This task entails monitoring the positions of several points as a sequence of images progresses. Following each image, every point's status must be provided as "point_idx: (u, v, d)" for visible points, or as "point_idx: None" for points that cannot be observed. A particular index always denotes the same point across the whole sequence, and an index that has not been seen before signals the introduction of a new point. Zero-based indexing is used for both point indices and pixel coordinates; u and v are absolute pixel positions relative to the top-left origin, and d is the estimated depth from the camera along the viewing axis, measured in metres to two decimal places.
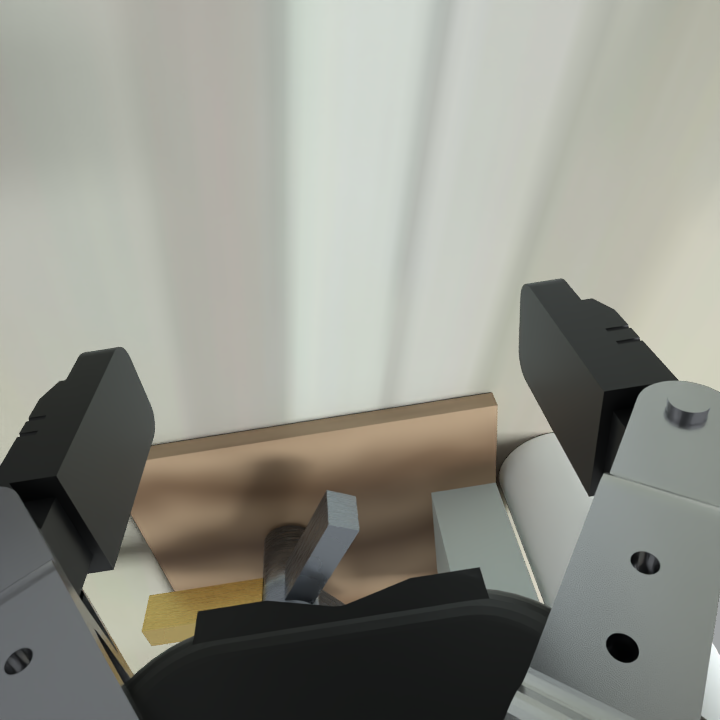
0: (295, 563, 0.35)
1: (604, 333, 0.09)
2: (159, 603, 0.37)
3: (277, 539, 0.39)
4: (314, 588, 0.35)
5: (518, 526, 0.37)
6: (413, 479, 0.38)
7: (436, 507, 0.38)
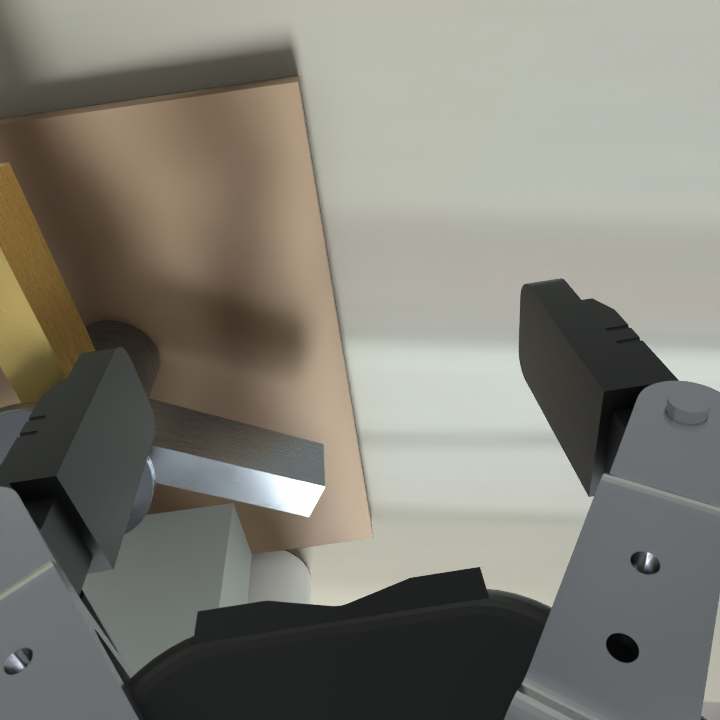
0: (190, 430, 0.22)
1: (604, 333, 0.09)
2: (11, 195, 0.17)
3: (147, 353, 0.24)
4: (163, 474, 0.21)
5: None
6: None
7: (231, 523, 0.30)
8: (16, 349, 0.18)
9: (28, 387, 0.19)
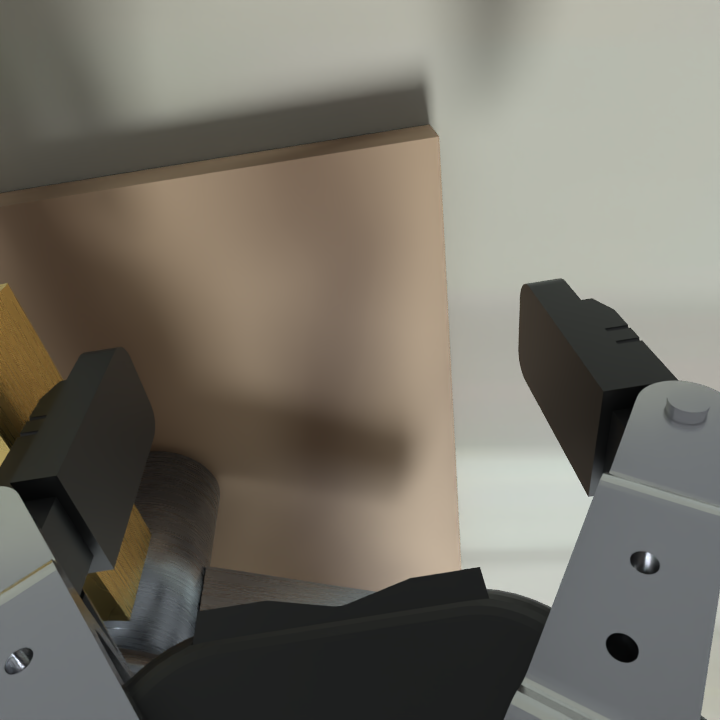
0: None
1: (603, 333, 0.09)
2: (14, 337, 0.11)
3: (205, 494, 0.17)
4: None
5: None
6: None
7: None
8: None
9: None
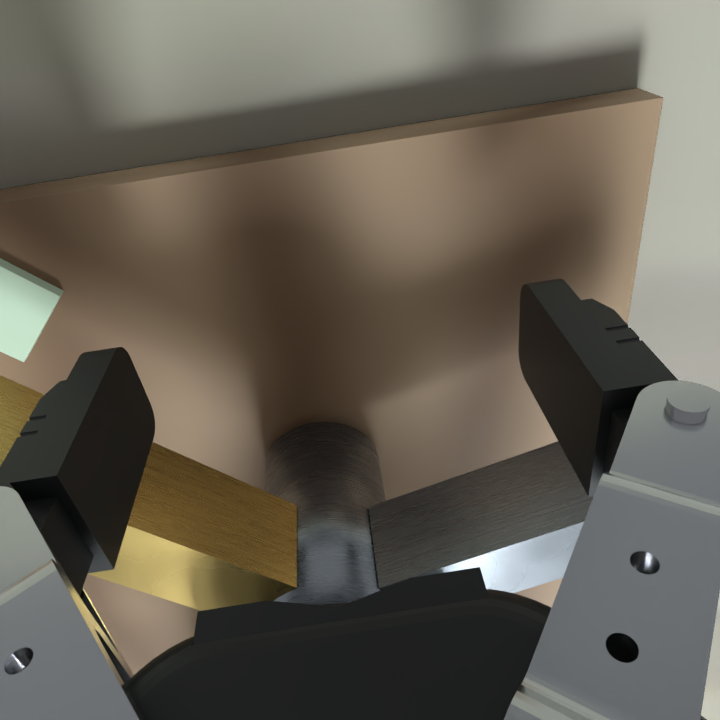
0: (450, 518, 0.14)
1: (604, 333, 0.09)
2: (23, 411, 0.12)
3: (343, 445, 0.17)
4: None
5: None
6: None
7: None
8: (171, 577, 0.12)
9: (224, 603, 0.13)
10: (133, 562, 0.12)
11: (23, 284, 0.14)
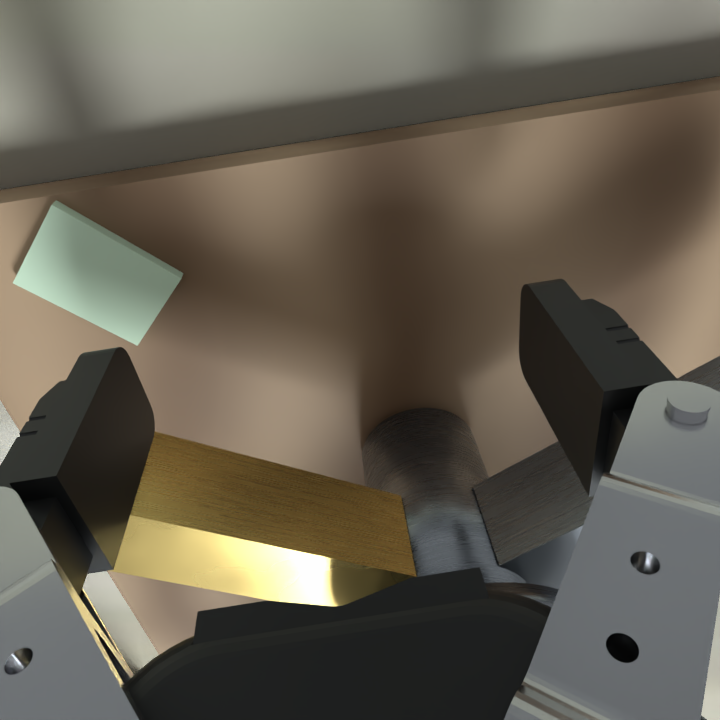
0: (560, 484, 0.13)
1: (604, 333, 0.09)
2: None
3: (435, 429, 0.17)
4: None
5: None
6: None
7: None
8: (294, 583, 0.13)
9: (349, 601, 0.13)
10: (256, 574, 0.12)
11: (146, 266, 0.14)
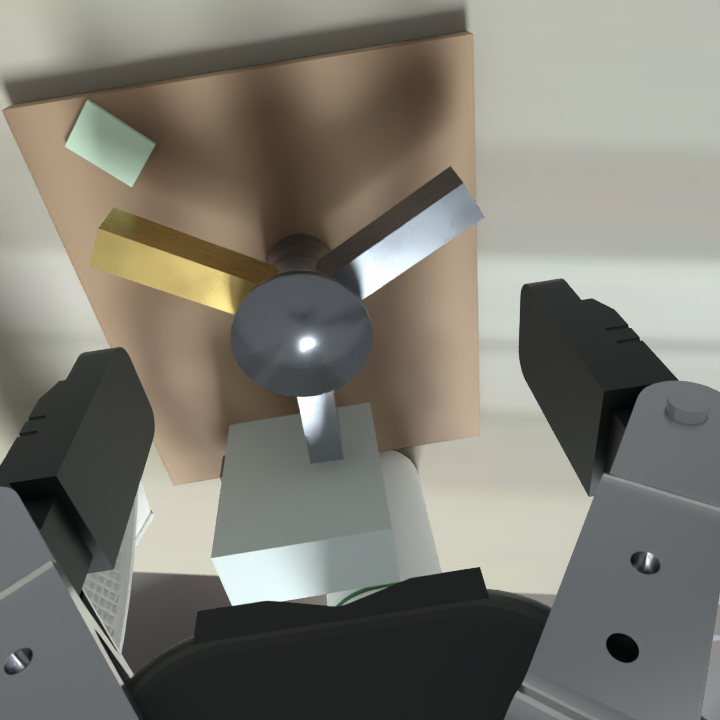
0: (353, 247, 0.26)
1: (604, 333, 0.09)
2: (128, 219, 0.25)
3: (303, 241, 0.29)
4: (364, 285, 0.26)
5: None
6: (393, 384, 0.36)
7: (372, 416, 0.36)
8: (211, 291, 0.25)
9: None
10: (191, 283, 0.25)
11: (136, 137, 0.26)
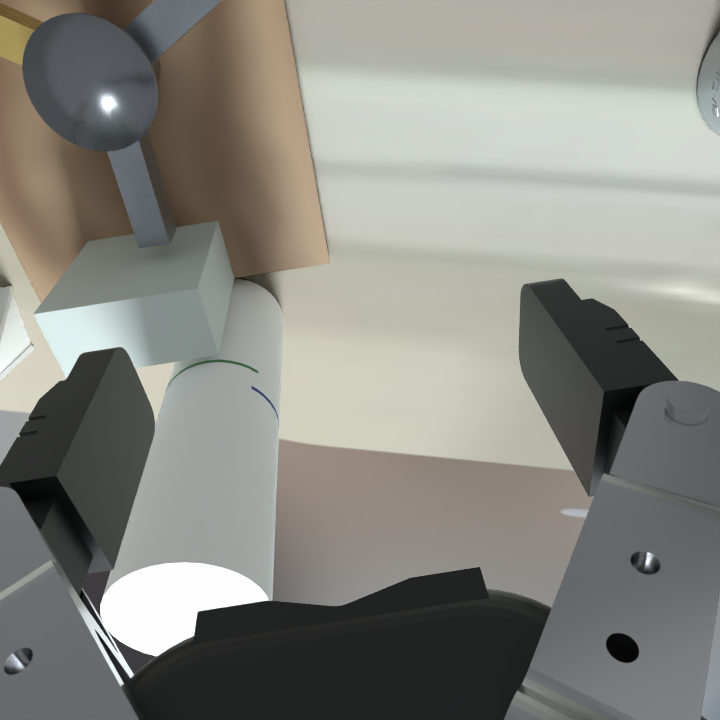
0: None
1: (604, 333, 0.09)
2: None
3: None
4: (153, 45, 0.29)
5: None
6: (237, 201, 0.39)
7: (216, 229, 0.39)
8: (12, 44, 0.28)
9: None
10: None
11: None
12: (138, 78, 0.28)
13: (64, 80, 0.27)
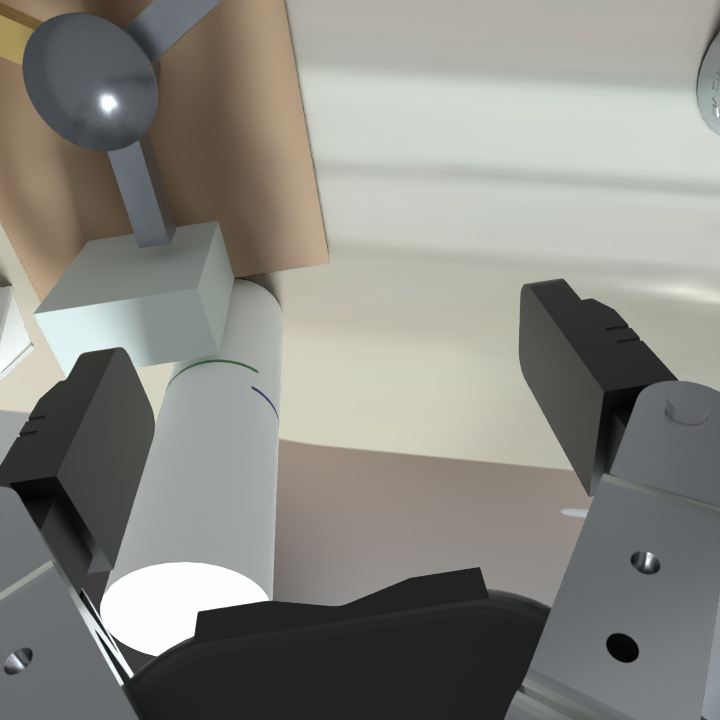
0: None
1: (604, 333, 0.09)
2: None
3: None
4: (153, 45, 0.29)
5: None
6: (237, 201, 0.39)
7: (216, 229, 0.39)
8: (13, 44, 0.28)
9: None
10: None
11: None
12: (138, 78, 0.28)
13: (64, 80, 0.27)
